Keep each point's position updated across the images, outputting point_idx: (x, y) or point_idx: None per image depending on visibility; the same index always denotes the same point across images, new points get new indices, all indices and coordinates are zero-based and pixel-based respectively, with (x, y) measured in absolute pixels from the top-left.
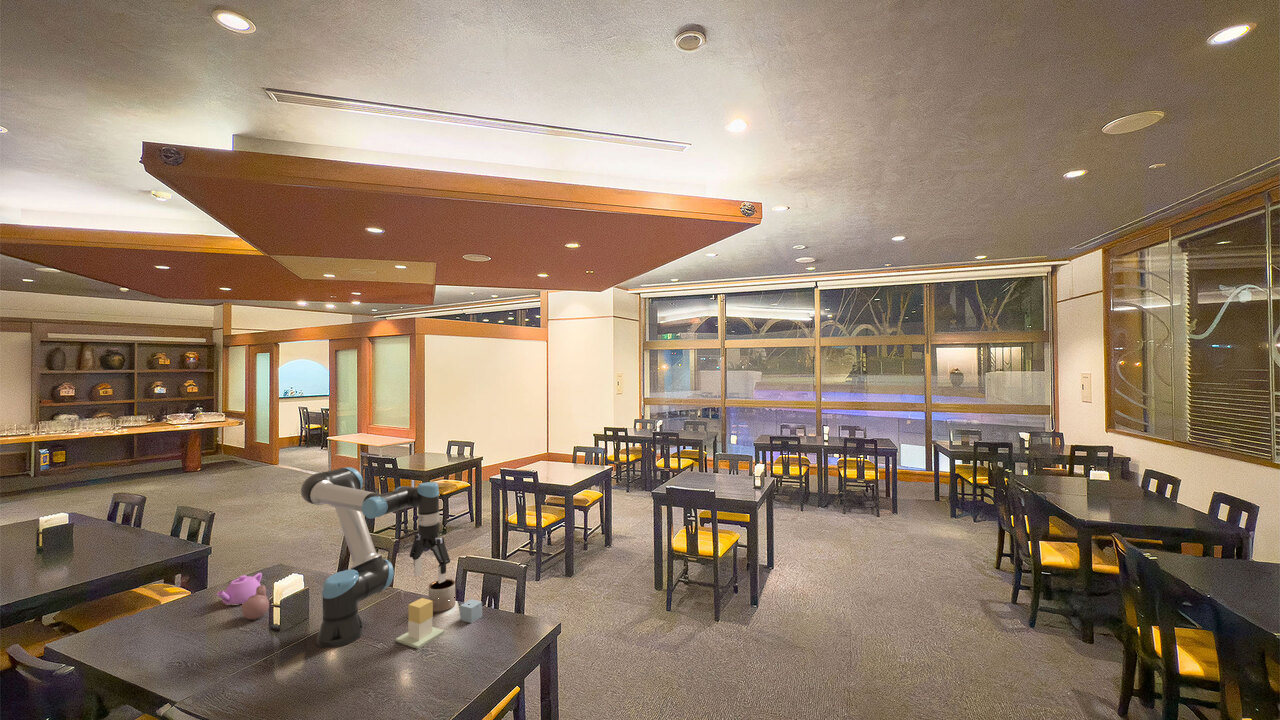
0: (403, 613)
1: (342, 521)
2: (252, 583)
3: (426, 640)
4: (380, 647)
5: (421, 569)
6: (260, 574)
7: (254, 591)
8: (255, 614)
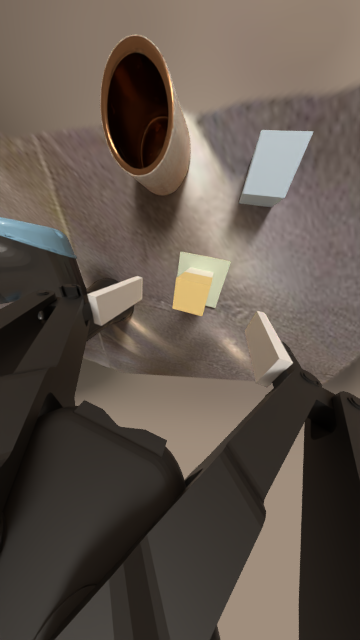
0: (123, 222)
1: None
2: None
3: (218, 294)
4: (168, 309)
5: (132, 283)
6: None
7: None
8: None
